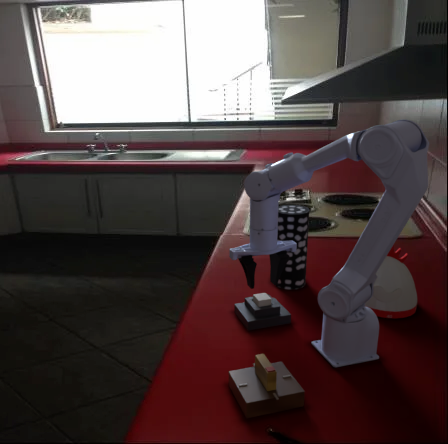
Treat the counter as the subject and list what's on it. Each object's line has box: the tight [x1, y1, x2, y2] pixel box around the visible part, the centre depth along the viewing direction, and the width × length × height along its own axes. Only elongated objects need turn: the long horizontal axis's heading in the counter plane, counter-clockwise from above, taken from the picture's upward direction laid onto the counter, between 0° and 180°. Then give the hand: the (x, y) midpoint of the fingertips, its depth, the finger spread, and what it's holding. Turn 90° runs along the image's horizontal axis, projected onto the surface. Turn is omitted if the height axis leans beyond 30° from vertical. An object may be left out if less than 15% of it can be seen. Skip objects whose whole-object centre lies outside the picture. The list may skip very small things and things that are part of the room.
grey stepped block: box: [233, 293, 292, 331], centre depth 93 cm, size 10×8×4 cm
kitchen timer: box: [365, 244, 418, 319], centre depth 95 cm, size 14×14×15 cm
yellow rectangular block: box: [254, 353, 277, 391], centre depth 69 cm, size 5×2×4 cm, turn 11°
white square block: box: [252, 292, 271, 307], centre depth 93 cm, size 3×3×2 cm
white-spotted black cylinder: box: [275, 204, 311, 290], centre depth 107 cm, size 8×8×20 cm
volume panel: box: [228, 361, 306, 419], centre depth 70 cm, size 10×9×3 cm
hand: (262, 284), depth 92 cm, fingers open, 5 cm apart
